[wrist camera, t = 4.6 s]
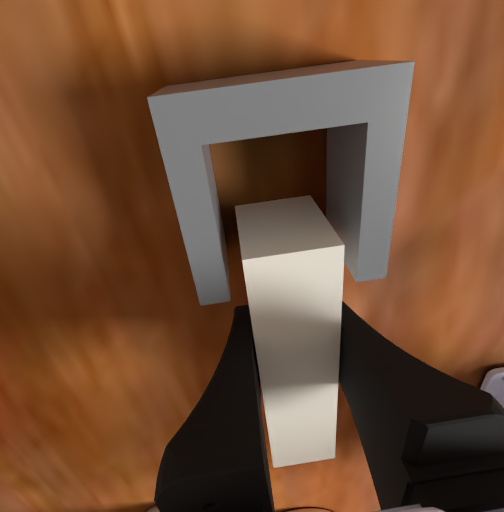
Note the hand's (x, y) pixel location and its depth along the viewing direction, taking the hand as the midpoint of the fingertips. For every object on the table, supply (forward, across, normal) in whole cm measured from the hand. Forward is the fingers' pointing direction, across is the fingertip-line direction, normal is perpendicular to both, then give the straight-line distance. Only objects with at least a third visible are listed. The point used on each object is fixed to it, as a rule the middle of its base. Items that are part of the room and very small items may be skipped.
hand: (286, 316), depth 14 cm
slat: (+2, 0, +1) cm, 2 cm away
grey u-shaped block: (+1, 0, -6) cm, 6 cm away
